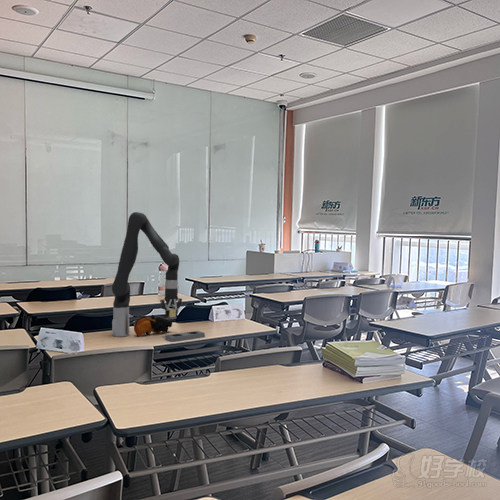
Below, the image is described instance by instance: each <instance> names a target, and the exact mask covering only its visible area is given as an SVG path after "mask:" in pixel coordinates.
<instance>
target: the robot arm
mask: <svg viewBox="0 0 500 500" xmlns="http://www.w3.org/2000/svg"><path fill="white" fill-rule="evenodd" d="M126 227H127V228H126V234H125V238H124V241H123V245H122V247H121V253H120V258H119V260H118V266H117V272H116V275H115V277H114V281H113V283H112V285H111V292H112V294H113V295H114V299H113V303H112V305H113V309H112V310H113V313H112V314H113V319H112V321H111V325H112V326H111V328H112V329H111V330H112V333H111V335H112V336H113V337H116V338H117V337H127V336H130V301H131V287H130V286H131V285H130V283H129V281H128V280H129V277H130V274H131V272H132V270H133V267H134V266H135V263H136V260H137V257H138V253H139V233H140V232H143V233H144V234H145V236H146V238H147V239H148V241H149V243H150V245H151V246H152V247H153V249H155V251H156V252H157V254H159V255H160V258H161V260H162V261H163V263H164V264H165V265H167V270H166V271H165V282H164V298H163V299H160V300H159V302H160V306H161V309H162V310H164V311H165V313H164V315H165V317H166V316H167V317H166V318H169V309H170V307H171V306H172V308H173V309H176V316H177V314H178V313H177V312H178V311H177V310H178V309H180V308H181V305H182V302H183V298H179V297H178V294H179V289H178V287H179V282H178V280H179V279H178V276H179V275H178V273H179V272H178V271H179V268H180V258H179V255H178V254H176V253H172V252H171V251H170V248H169V245H168V243H166V242H165V241H164V239H163V238H162V237H161V236H160V234H159V233H158V232H157V231H156V230H155V228H154V227H153V225H152V223H151V222H150V220H149V218H148V217H147V216H146V214H144V212H143V213H142V212H140V211H135V212H132V213H131V214H130V215H129V217H128V221H127V226H126ZM140 230H141V231H140Z"/></svg>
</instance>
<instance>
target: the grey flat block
mask: <svg viewBox="0 0 500 500" xmlns="http://www.w3.org/2000/svg"><path fill="white" fill-rule="evenodd" d="M205 337H206V334H205V332H204V331H200V330H194V331H187V332H186V331H185V332H180V333H173V334H165V335H164V340H165V341H168V342H170V343H175V342H182V341H188V340H193V339H194V340H195V339H201V338H205Z"/></svg>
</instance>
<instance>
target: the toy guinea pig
mask: <svg viewBox="0 0 500 500" xmlns="http://www.w3.org/2000/svg"><path fill="white" fill-rule="evenodd" d="M172 325H173V321H172V320H171V319H166V318H164V317H161V316H157V317H155V315H153V314H151V316H150V317H148V316H145V315H143V316H141V317H140V318H138V319H137V320H136V321H135V323H134V325H133V331H134V334H135V335H136V337H139V338H141V337H142V336H143V335H144V334H145V335H149V334H151V333H155V334H158V335H161V334H162V333H161V332H163V333H168V330H169V328H172Z"/></svg>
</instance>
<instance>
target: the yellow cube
mask: <svg viewBox="0 0 500 500" xmlns="http://www.w3.org/2000/svg"><path fill="white" fill-rule="evenodd" d="M165 317H166V318H169V319H170V318H176V317H177V315H176V309H173V307H172V308H169V317H167V316H166V315H165Z"/></svg>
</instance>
